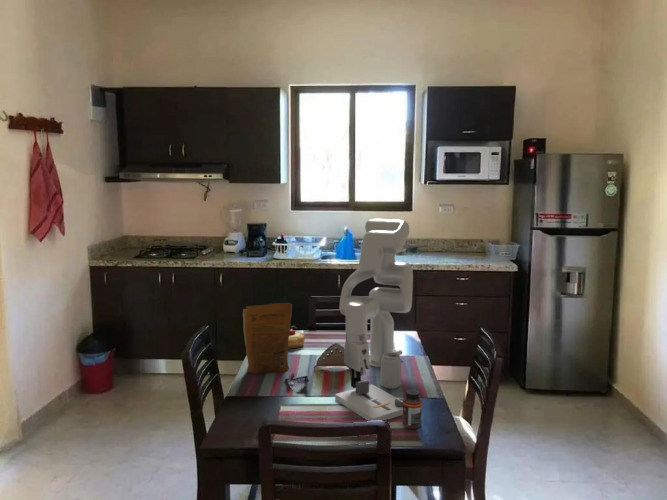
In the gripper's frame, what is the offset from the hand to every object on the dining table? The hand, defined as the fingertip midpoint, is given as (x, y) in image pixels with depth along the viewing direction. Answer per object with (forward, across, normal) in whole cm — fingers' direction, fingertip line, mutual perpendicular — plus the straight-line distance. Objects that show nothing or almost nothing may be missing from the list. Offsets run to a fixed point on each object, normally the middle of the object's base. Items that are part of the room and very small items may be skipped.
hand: (355, 386), depth 200 cm
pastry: (+4, +60, -7) cm, 61 cm away
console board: (+3, -10, 0) cm, 10 cm away
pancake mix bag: (+4, +37, +16) cm, 41 cm away
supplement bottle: (+4, -28, -2) cm, 28 cm away
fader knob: (+1, -4, 0) cm, 4 cm away
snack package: (+4, +19, +13) cm, 23 cm away
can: (+4, 0, -16) cm, 17 cm away
